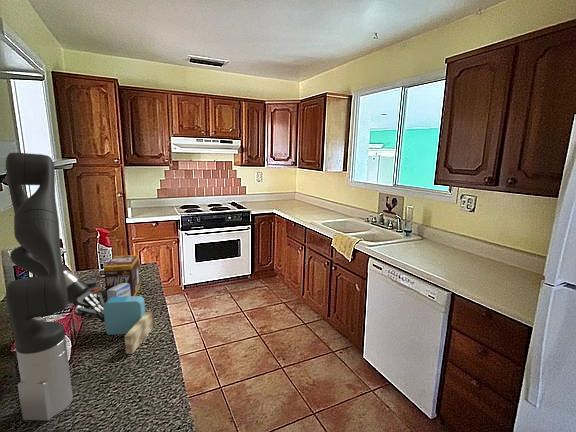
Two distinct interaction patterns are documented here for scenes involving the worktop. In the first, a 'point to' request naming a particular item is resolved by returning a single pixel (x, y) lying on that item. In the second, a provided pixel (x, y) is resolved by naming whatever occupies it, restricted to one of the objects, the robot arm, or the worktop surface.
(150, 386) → the worktop surface
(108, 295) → the medicine box
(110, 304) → the blue rounded block
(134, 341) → the birch board
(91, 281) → the supplement bottle
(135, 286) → the supplement box
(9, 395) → the worktop surface
